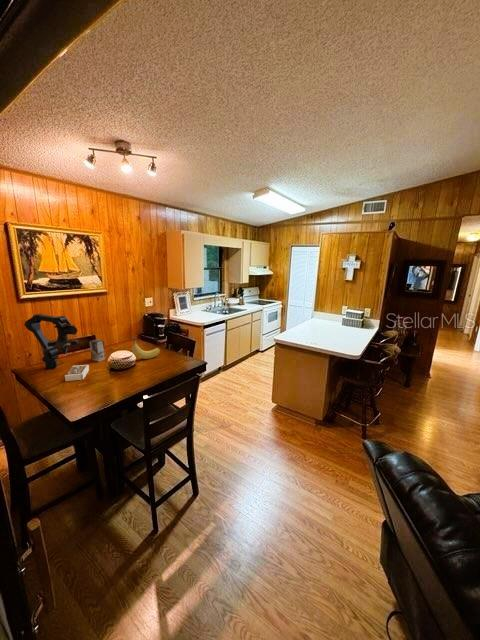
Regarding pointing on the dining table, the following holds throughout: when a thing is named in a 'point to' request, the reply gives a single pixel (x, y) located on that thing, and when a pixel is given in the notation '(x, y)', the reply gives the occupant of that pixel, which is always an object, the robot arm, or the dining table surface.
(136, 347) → the banana
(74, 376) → the beige u-shaped block
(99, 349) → the coffee box
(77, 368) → the crate with rolls
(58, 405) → the dining table surface
